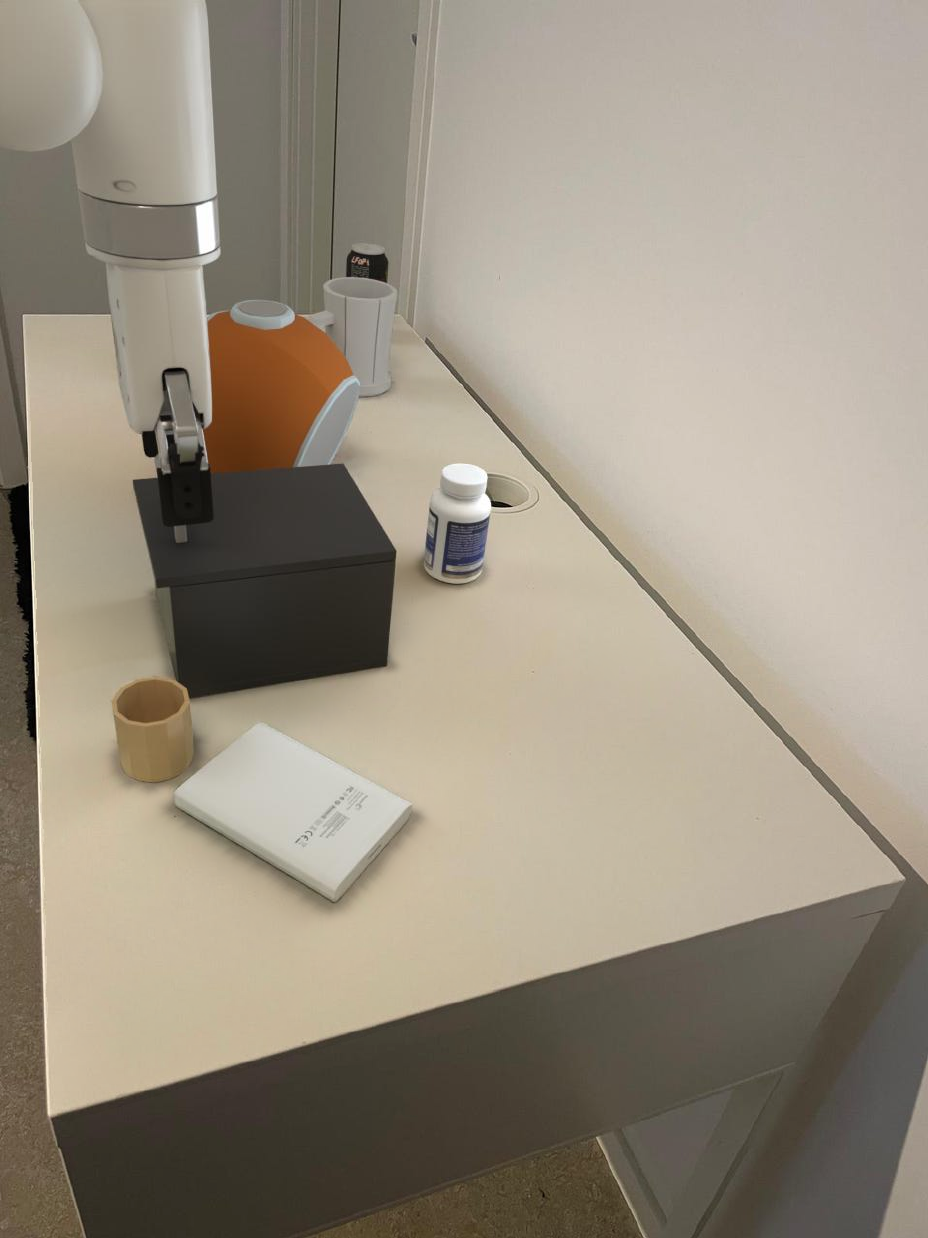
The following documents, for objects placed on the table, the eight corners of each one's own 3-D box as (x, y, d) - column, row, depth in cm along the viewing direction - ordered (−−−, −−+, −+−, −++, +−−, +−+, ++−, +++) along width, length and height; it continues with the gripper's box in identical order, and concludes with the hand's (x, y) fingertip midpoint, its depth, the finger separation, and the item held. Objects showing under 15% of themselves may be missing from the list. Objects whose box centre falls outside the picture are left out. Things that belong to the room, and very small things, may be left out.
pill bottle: (492, 567, 83) (507, 473, 78) (461, 592, 80) (475, 495, 74) (444, 546, 85) (455, 452, 80) (411, 570, 82) (421, 473, 76)
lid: (156, 588, 58) (149, 523, 56) (133, 488, 68) (126, 428, 65) (396, 560, 64) (401, 500, 62) (343, 471, 74) (345, 416, 71)
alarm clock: (230, 424, 101) (223, 264, 91) (376, 459, 98) (386, 298, 88) (133, 498, 86) (112, 317, 76) (303, 542, 83) (305, 360, 73)
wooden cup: (124, 788, 57) (115, 731, 55) (117, 739, 61) (108, 683, 58) (198, 774, 59) (193, 718, 56) (187, 727, 62) (182, 671, 60)
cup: (370, 408, 109) (375, 309, 102) (301, 391, 111) (302, 292, 104) (401, 380, 117) (408, 286, 110) (337, 365, 119) (340, 271, 112)
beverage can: (373, 326, 133) (378, 240, 126) (390, 339, 129) (396, 252, 122) (337, 328, 130) (340, 241, 123) (353, 342, 126) (357, 253, 119)
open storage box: (180, 700, 64) (169, 588, 59) (155, 593, 74) (144, 488, 69) (387, 666, 70) (396, 560, 64) (339, 571, 80) (343, 472, 74)
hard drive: (261, 736, 63) (411, 817, 58) (174, 809, 57) (333, 905, 52) (260, 719, 62) (413, 800, 57) (172, 791, 56) (334, 888, 51)
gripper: (72, 186, 57) (108, 435, 67) (94, 271, 44) (134, 560, 55) (194, 189, 60) (211, 428, 70) (248, 269, 47) (258, 546, 57)
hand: (177, 486), depth 62 cm, fingers open, 9 cm apart
